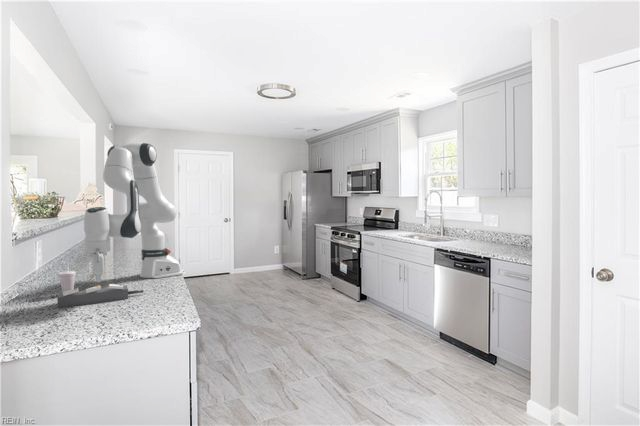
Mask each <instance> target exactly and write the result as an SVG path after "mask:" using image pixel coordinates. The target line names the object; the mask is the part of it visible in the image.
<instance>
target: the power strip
mask: <svg viewBox="0 0 640 426" xmlns="http://www.w3.org/2000/svg"><path fill="white" fill-rule="evenodd" d="M140 293H141V294H143V293H144V289H138V290H129V289H128V285H123V289H114V288H109V287H103V288H102V287H101V289H100V290H96V291H93V292H90V293H86V289H84V290H79V292H76V293H73V294H69V295H66V296H63V293H62V292H59V293H58V295H57V297H56V298H57V299H56V300H57V308H58V309H59V308H67V307H75V306H83V305H89V304H96V303H103V302H104V303H105V302H111V301H120V300H126V299H129V295H133V294H140Z"/></svg>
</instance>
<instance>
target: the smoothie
mask: <svg viewBox="0 0 640 426" xmlns="http://www.w3.org/2000/svg"><path fill="white" fill-rule="evenodd" d="M69 265H70V264H69V262H66V269H67V270H66V271H61V272H58V273H57V274H58V275H57V276H58V277H59V282H60V288H61V293H63V292H65V291H68V290H72V289H75V279H76V275H77V271H75V270H74V271H73V270H69V269H70V266H69Z"/></svg>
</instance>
